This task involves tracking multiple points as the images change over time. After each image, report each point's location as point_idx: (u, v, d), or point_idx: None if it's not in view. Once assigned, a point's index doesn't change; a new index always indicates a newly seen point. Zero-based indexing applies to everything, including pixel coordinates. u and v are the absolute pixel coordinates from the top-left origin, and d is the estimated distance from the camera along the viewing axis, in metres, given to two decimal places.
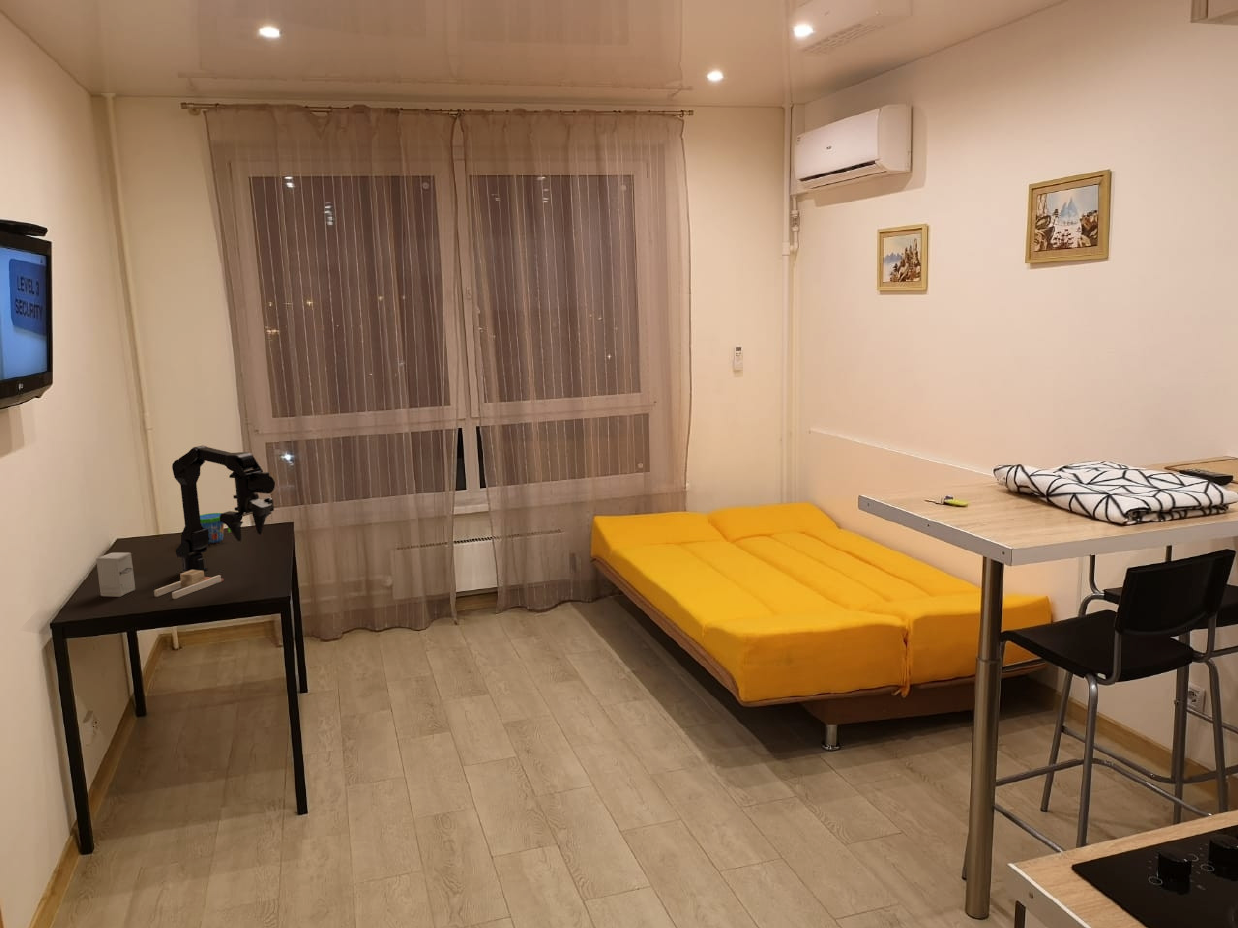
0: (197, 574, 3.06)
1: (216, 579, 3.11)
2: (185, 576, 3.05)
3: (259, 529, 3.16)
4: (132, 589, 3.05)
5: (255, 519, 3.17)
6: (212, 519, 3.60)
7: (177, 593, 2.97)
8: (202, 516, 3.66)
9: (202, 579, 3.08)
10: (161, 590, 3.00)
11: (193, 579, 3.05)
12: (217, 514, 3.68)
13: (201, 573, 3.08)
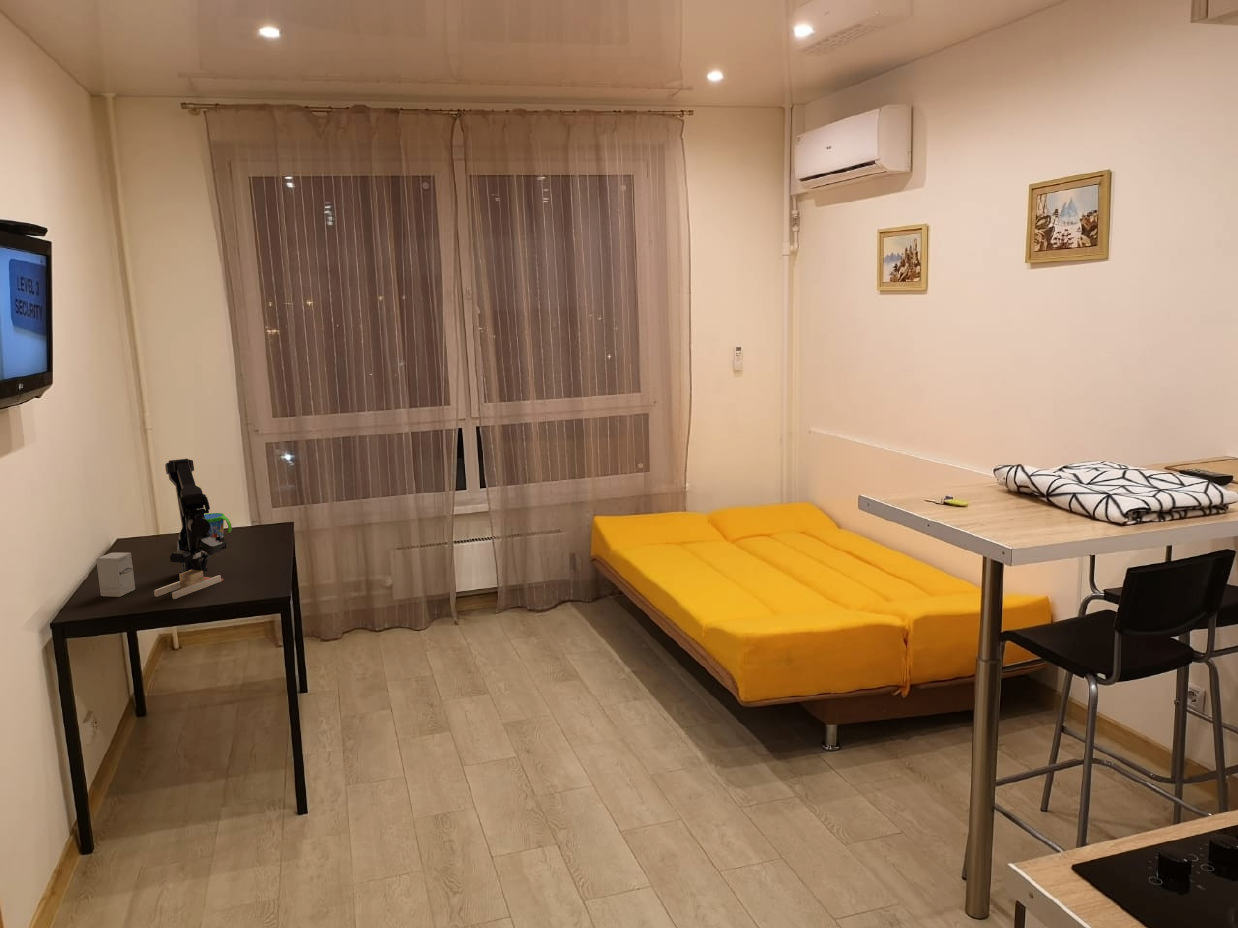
0: (196, 574, 3.06)
1: (216, 579, 3.11)
2: (184, 576, 3.05)
3: None
4: (132, 589, 3.05)
5: None
6: (212, 519, 3.60)
7: (177, 593, 2.97)
8: None
9: (201, 579, 3.08)
10: (161, 590, 3.00)
11: (192, 579, 3.04)
12: (217, 514, 3.68)
13: (200, 573, 3.07)
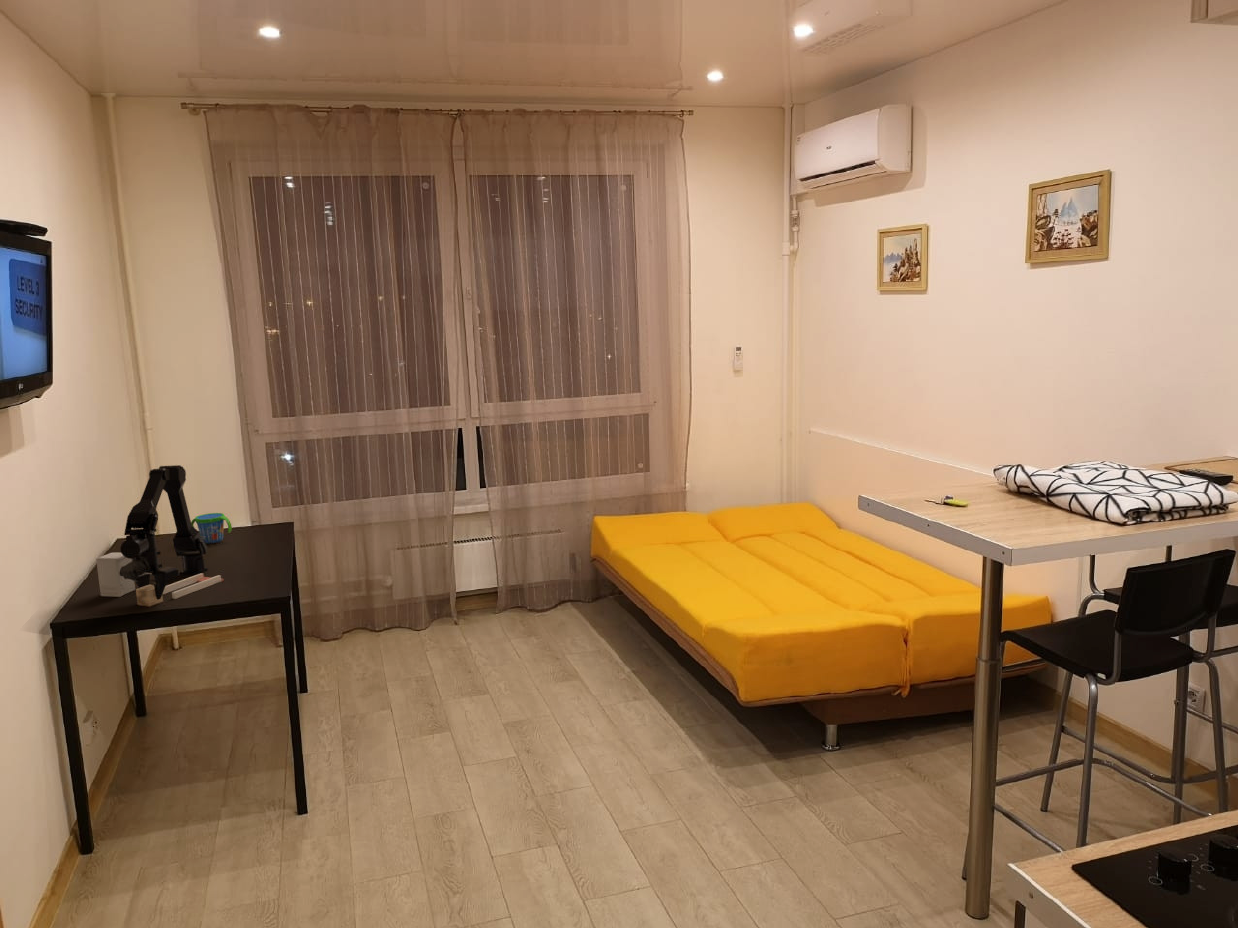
0: (154, 589, 2.91)
1: (216, 579, 3.11)
2: (141, 591, 2.90)
3: None
4: (132, 589, 3.05)
5: None
6: (212, 519, 3.60)
7: (177, 593, 2.97)
8: (202, 516, 3.66)
9: None
10: None
11: (149, 595, 2.89)
12: (217, 514, 3.68)
13: None
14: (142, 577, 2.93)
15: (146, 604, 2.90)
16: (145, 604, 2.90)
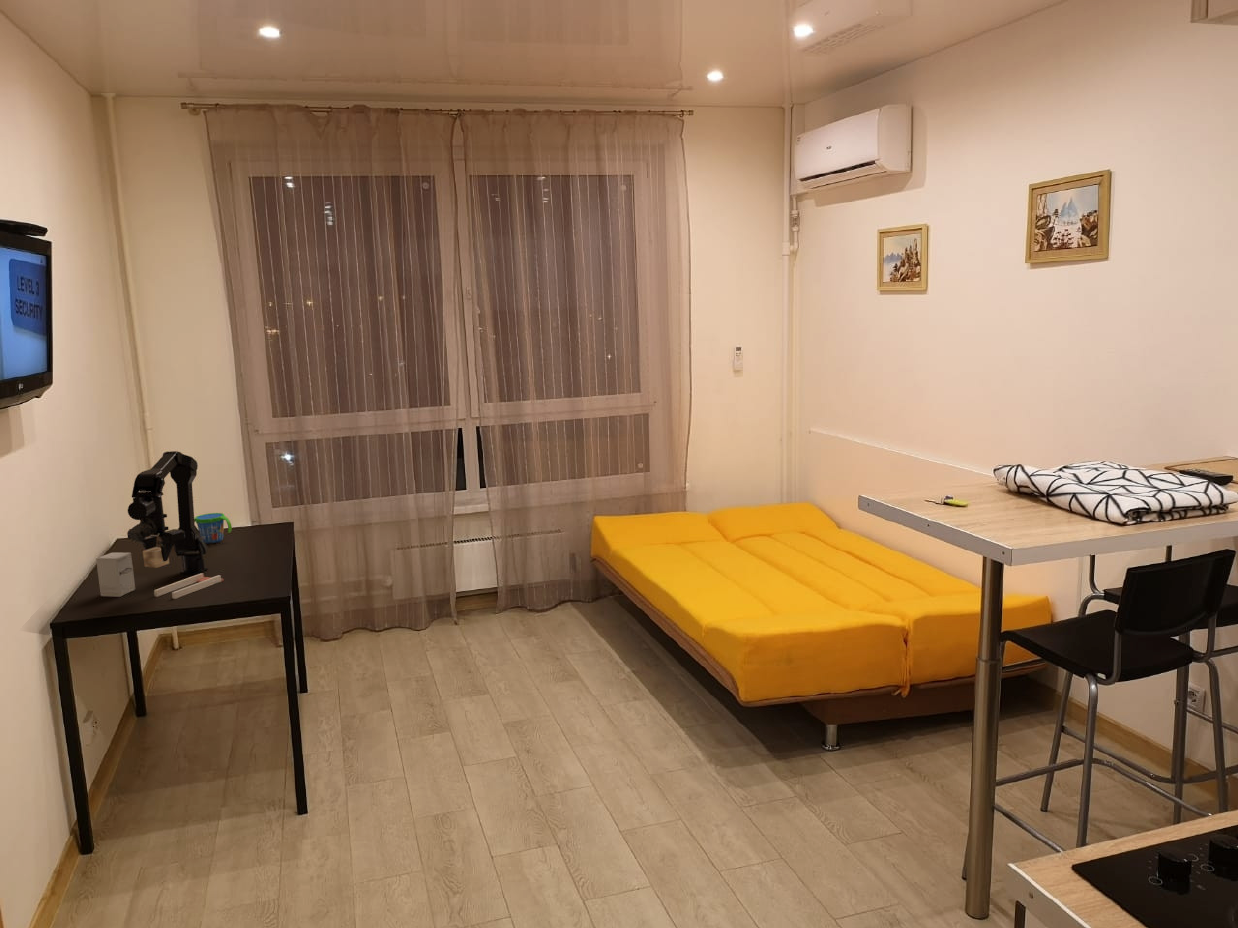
0: (160, 551, 2.97)
1: (216, 579, 3.11)
2: (148, 553, 2.96)
3: None
4: (132, 589, 3.05)
5: None
6: (212, 519, 3.60)
7: (177, 593, 2.97)
8: (202, 516, 3.66)
9: None
10: (161, 590, 3.00)
11: (156, 556, 2.96)
12: (217, 514, 3.68)
13: None
14: (149, 540, 3.00)
15: (153, 566, 2.96)
16: (152, 566, 2.97)
